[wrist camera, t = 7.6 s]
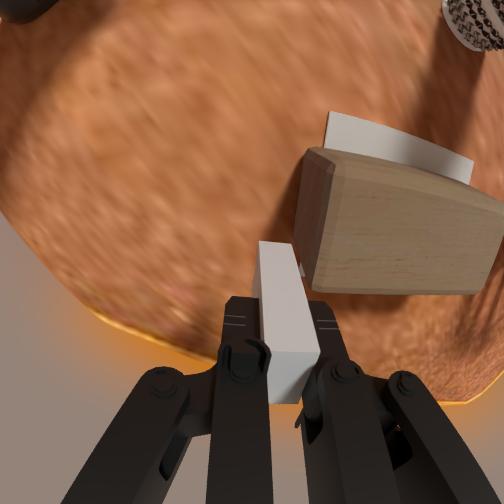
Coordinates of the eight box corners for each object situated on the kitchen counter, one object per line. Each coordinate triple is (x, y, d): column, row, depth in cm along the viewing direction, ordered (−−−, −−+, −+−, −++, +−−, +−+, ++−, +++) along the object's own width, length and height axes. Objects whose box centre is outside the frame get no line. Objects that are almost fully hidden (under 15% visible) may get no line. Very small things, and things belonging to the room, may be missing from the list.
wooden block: (289, 240, 29) (437, 254, 30) (306, 297, 20) (481, 298, 21) (303, 144, 24) (458, 179, 25) (332, 158, 15) (515, 208, 16)
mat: (329, 111, 23) (329, 111, 23) (472, 161, 24) (473, 161, 24) (297, 274, 31) (297, 276, 31) (431, 285, 32) (432, 286, 32)
